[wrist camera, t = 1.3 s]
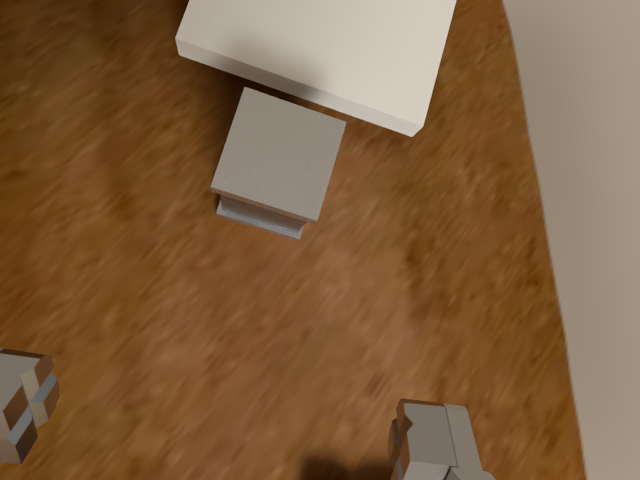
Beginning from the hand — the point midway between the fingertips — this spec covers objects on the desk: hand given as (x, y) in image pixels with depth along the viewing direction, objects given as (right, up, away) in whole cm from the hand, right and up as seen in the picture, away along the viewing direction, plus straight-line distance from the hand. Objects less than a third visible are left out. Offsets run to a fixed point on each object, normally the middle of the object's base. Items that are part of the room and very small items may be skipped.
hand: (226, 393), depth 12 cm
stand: (+2, +18, +24) cm, 30 cm away
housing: (-1, +7, +21) cm, 23 cm away
